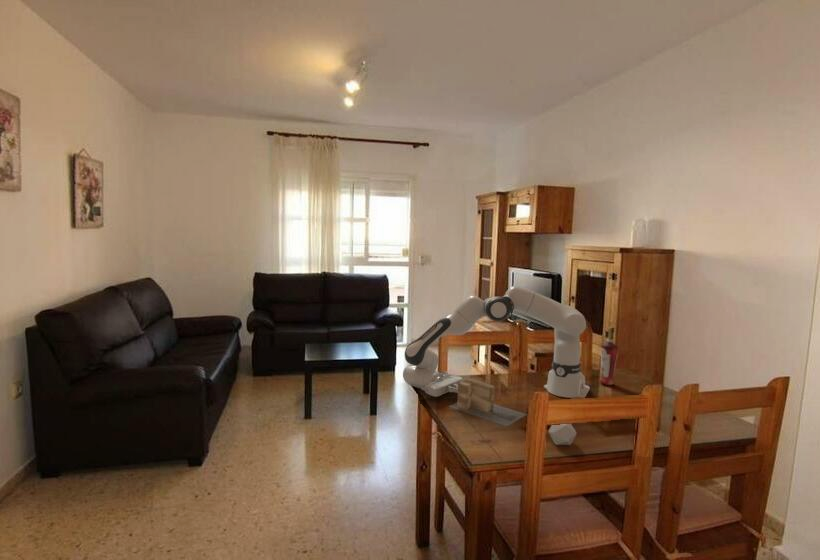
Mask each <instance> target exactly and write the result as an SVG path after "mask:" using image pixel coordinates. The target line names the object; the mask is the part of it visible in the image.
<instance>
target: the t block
mask: <svg viewBox="0 0 820 560" xmlns="http://www.w3.org/2000/svg"><path fill="white" fill-rule="evenodd" d="M483 381H484V379H483V378H481V377H477V376H472V377H471V378H468V379H465V380H463V382H460V383H458V393H457V398H456V399H457V402H456V403H457V407H459V408H462V409H465V410H466V409H468V408H470V407H472V408H475V409H478V410H481V411H484V412H487V413H488V412H490V411H492V410H493V404H494V400H495V399H494V398H495V397H494V396H495V385H492V384H489V383H485V382H483Z"/></svg>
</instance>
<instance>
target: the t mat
mask: <svg viewBox="0 0 820 560" xmlns="http://www.w3.org/2000/svg"><path fill="white" fill-rule="evenodd" d="M448 408H451V409H455V410H456V411H457V410H458V411H460V412H462V413H463V412H464V413H466V414H469V415H472V416H475V417H479V418H480V419H484V420H486V421H490V422H493V423H496V424H499V425H501V426H504V427H509V426H510V425H513V424H514V423H515V422H517V421H519V420H520V419H522V418H524V417H526V416H528V413H524V412H522V411H518V410H514V409H511V408H508V407H504V406H501V405H498V404H495V403H493V410H492V411H490V412H488V413H487V412H484V411H481V410H478V409H475V408H472V407H470V408H468V409H466V410H465V409H462V408H459V407H457V402H455V403H453V404H449V405H448Z"/></svg>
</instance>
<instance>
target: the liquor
mask: <svg viewBox="0 0 820 560" xmlns="http://www.w3.org/2000/svg"><path fill="white" fill-rule="evenodd" d="M607 327H608V328H607V332H608V334H607V339H606V342H605V343H602V344H601V352H600V356H601V357H600V375H599V377H600V378H599V380H598V381H599V382H600V384H601V383H602V385H603V384H605V385H604V386H606V385H611V386H613V385H614V384H615V381H614V380H615V372H616V364H617V359H618V349H619V346H618V344H617V345H616V344H615V343H614V333H615V327H614V326H607Z"/></svg>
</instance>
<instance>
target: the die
mask: <svg viewBox="0 0 820 560" xmlns="http://www.w3.org/2000/svg"><path fill="white" fill-rule="evenodd" d="M547 433H548V434H549V436H550V437H551V439H552V441H553V443H554V444H556V446H571V445H572V443H573V442H574V439H575V438H576V436H577V432H576V429H575V428H574V426H573V425H572V423H571V424H560V425H552V424H551V425H550V428H549V429H548V432H547Z"/></svg>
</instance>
